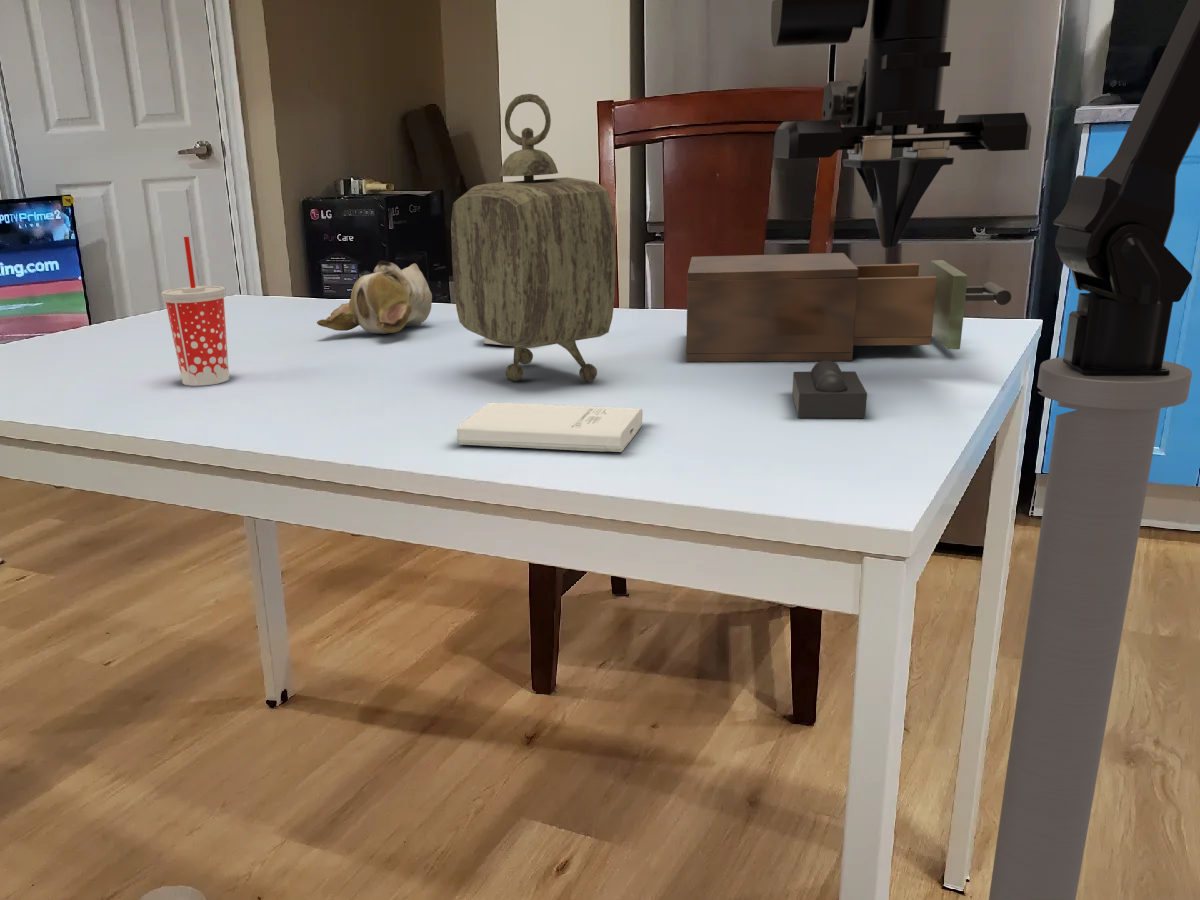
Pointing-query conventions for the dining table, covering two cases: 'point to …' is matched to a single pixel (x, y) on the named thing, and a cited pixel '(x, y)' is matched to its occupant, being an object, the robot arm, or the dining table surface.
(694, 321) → the cabinet
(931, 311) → the drawer
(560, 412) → the hard drive
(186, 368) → the beverage cup
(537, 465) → the dining table surface
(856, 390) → the raised capsule plate
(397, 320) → the ceramic sculpture
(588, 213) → the tabletop clock
